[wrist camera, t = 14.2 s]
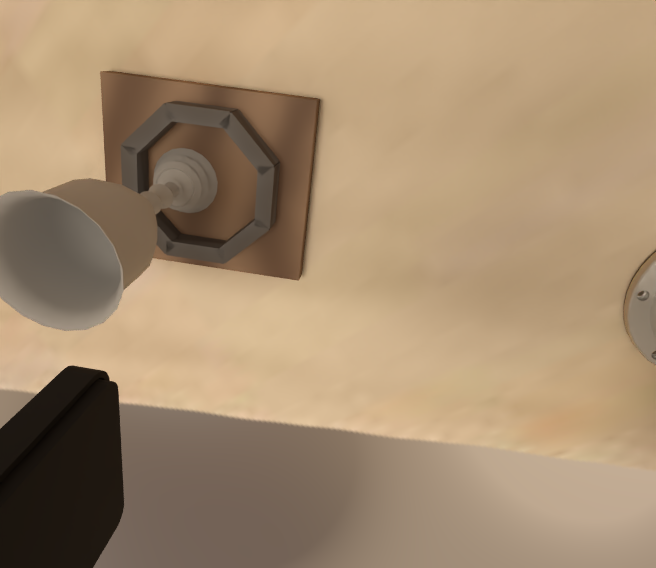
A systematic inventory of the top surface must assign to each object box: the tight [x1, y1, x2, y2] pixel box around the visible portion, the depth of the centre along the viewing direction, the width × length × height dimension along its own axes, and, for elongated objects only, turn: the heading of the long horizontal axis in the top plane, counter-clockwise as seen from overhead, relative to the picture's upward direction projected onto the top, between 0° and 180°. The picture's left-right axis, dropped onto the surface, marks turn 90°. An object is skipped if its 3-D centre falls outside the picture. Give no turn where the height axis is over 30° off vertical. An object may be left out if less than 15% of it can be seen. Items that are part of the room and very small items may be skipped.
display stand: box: [100, 71, 320, 280], centre depth 41 cm, size 16×14×4 cm
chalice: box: [0, 148, 218, 331], centre depth 33 cm, size 7×7×18 cm
